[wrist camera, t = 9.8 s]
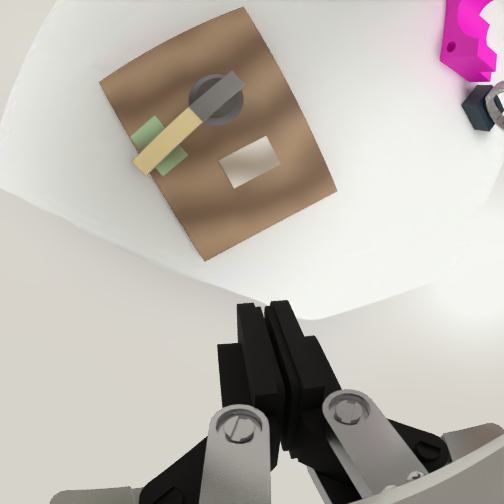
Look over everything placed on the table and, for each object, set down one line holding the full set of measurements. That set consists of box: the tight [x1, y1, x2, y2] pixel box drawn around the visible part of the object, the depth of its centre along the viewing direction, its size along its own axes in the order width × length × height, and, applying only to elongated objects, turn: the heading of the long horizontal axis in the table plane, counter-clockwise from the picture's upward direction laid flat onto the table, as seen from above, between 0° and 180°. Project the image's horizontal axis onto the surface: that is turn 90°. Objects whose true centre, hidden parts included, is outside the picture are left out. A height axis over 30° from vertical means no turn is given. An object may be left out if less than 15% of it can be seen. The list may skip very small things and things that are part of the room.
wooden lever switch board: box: [99, 7, 337, 261], centre depth 29 cm, size 22×16×2 cm
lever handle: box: [132, 71, 246, 176], centre depth 26 cm, size 12×4×4 cm, turn 131°
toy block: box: [440, 0, 497, 82], centre depth 24 cm, size 15×6×8 cm, turn 165°
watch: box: [462, 81, 504, 131], centre depth 27 cm, size 6×8×11 cm
